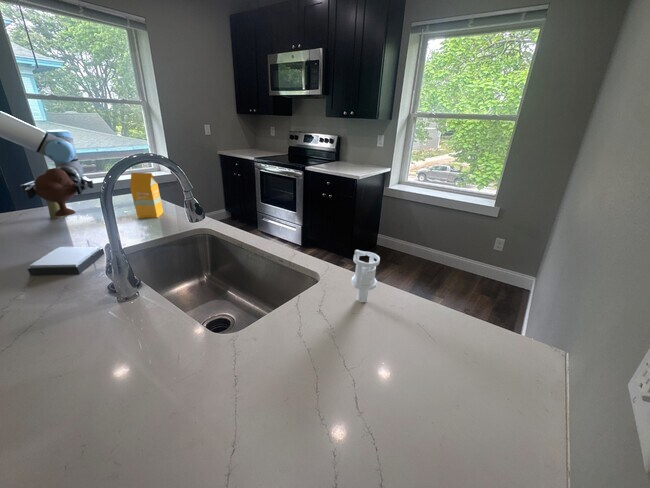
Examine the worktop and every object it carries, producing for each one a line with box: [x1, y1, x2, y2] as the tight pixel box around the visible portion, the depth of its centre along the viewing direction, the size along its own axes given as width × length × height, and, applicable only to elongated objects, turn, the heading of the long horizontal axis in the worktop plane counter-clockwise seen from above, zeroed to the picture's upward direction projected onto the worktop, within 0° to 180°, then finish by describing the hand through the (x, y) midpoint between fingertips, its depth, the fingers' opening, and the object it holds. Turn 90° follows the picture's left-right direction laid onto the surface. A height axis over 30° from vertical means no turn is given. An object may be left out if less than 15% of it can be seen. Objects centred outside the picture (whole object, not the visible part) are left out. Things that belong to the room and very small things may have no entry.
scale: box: [27, 246, 106, 276], centre depth 97 cm, size 14×14×3 cm
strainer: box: [350, 249, 381, 303], centre depth 83 cm, size 7×7×15 cm
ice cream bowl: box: [33, 167, 78, 217], centre depth 96 cm, size 11×11×15 cm
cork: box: [45, 200, 65, 220], centre depth 133 cm, size 6×6×11 cm
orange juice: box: [129, 172, 164, 219], centre depth 138 cm, size 8×9×20 cm
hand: (54, 192), depth 93 cm, fingers closed on ice cream bowl, 11 cm apart
